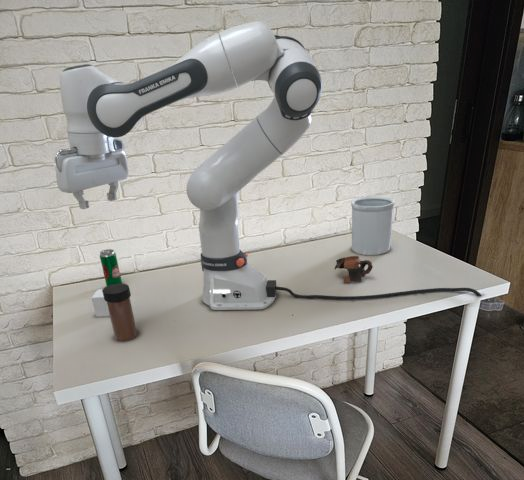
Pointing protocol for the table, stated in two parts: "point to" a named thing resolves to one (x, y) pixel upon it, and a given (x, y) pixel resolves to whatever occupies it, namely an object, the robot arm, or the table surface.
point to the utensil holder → (372, 224)
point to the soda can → (110, 267)
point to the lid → (116, 292)
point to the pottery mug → (353, 268)
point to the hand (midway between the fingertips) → (98, 204)
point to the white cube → (100, 304)
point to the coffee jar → (122, 320)
